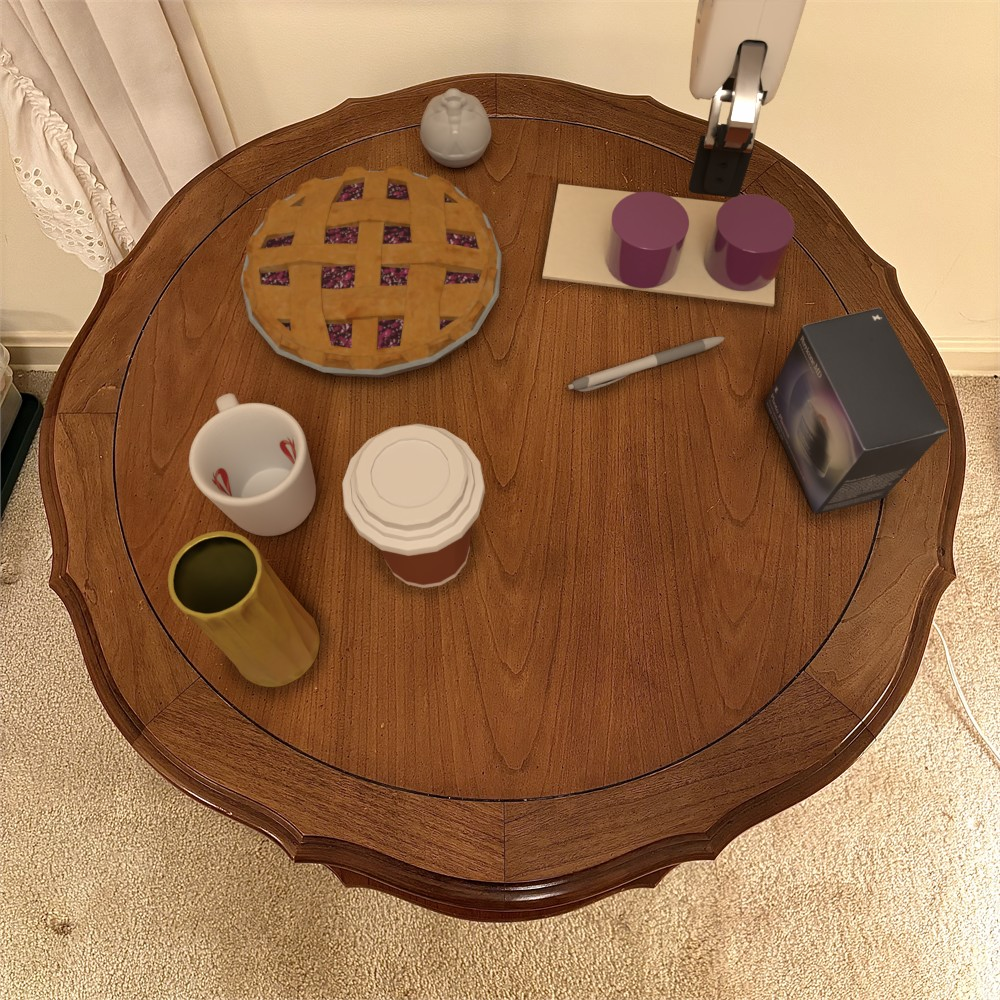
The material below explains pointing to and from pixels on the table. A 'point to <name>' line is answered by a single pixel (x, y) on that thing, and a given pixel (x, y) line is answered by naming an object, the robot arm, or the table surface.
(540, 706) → the table surface
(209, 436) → the cup
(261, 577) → the vase
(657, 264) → the purple short cylinder
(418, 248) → the pie
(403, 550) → the coffee cup
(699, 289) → the placemat
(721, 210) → the purple cylinder puck
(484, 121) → the figurine
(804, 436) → the small box
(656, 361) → the pen
